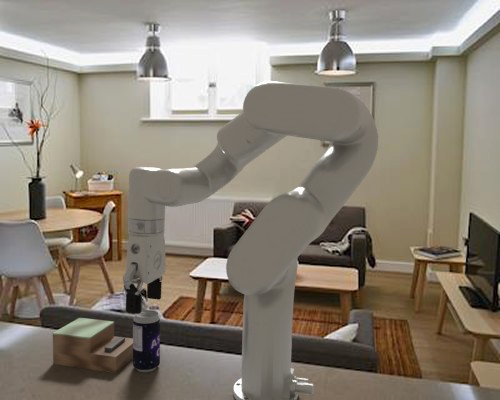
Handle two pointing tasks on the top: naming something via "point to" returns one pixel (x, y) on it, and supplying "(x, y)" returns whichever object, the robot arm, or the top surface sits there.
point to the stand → (91, 346)
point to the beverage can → (146, 341)
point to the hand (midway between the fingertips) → (144, 305)
